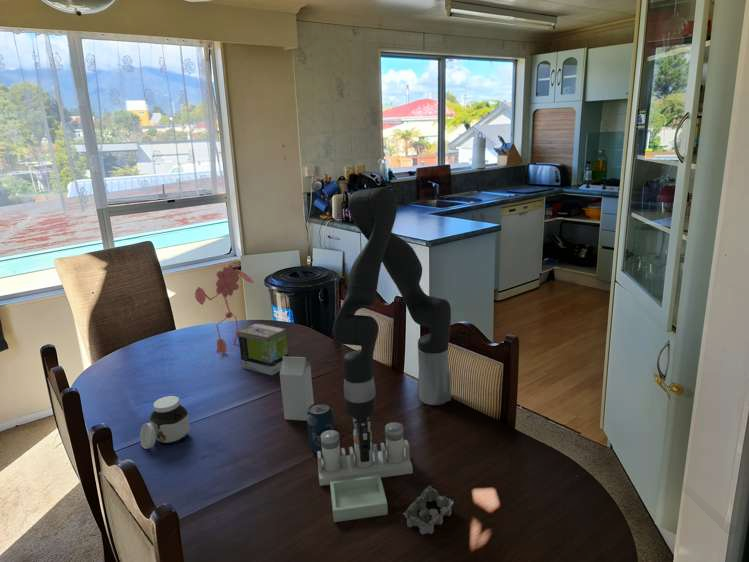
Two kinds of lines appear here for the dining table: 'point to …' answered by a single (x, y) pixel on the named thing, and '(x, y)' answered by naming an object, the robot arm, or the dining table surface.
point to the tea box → (263, 348)
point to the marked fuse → (357, 452)
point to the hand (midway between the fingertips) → (363, 454)
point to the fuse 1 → (331, 451)
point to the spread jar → (165, 423)
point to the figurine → (224, 287)
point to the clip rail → (377, 468)
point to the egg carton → (428, 511)
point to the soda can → (318, 424)
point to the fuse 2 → (394, 443)
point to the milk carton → (296, 387)
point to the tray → (358, 498)
